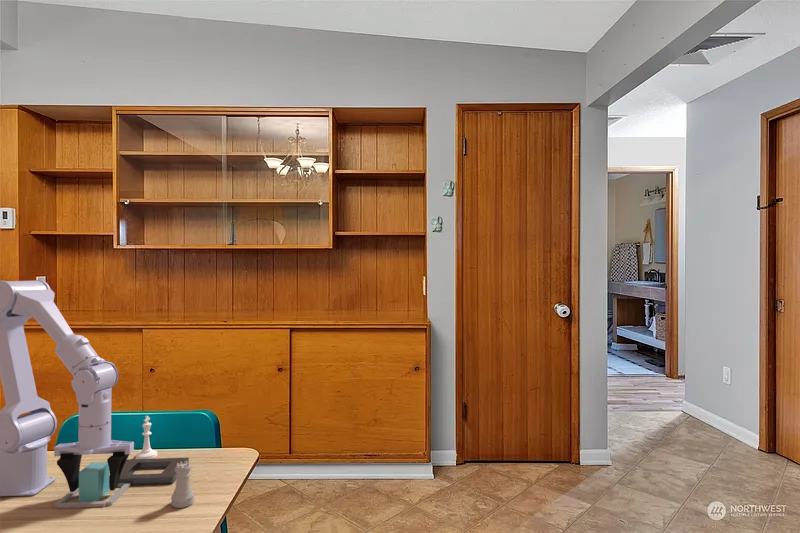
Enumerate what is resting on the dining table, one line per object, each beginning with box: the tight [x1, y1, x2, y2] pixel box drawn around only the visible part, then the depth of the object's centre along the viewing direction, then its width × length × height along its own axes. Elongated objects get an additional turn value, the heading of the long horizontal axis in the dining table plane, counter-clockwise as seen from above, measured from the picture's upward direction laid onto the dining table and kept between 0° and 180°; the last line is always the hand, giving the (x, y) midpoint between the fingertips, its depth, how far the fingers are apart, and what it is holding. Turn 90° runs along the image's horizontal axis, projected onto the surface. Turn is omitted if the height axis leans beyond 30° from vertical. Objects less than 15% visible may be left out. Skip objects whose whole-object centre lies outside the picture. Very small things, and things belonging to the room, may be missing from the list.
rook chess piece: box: [170, 461, 195, 509], centre depth 99 cm, size 4×4×8 cm
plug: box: [78, 461, 110, 502], centre depth 101 cm, size 4×5×6 cm
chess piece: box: [135, 415, 158, 459], centre depth 123 cm, size 5×5×10 cm
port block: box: [109, 457, 190, 486], centre depth 112 cm, size 14×11×2 cm
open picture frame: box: [53, 483, 132, 509], centre depth 101 cm, size 11×10×1 cm
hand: (94, 489), depth 101 cm, fingers open, 7 cm apart
